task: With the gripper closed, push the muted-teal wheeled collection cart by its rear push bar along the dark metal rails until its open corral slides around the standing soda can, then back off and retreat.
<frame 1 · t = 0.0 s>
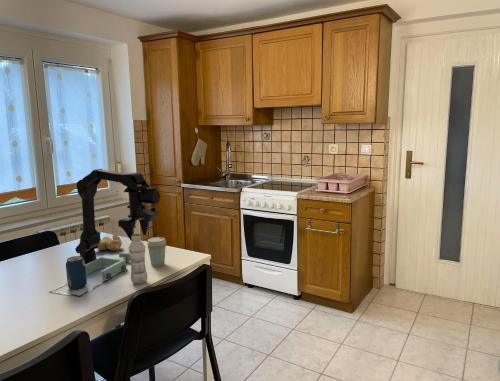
hand: (138, 237, 170), 15 cm above the table, fingers open, 9 cm apart
soda can: (77, 287, 155), on the table
plastic bottle: (139, 283, 159), on the table
cart: (109, 264, 173), point 3 cm above the table, slide at 0.0 cm
ginger root: (110, 249, 201), on the table
rails: (91, 280, 162), on the table
coffee cup: (158, 265, 178), on the table
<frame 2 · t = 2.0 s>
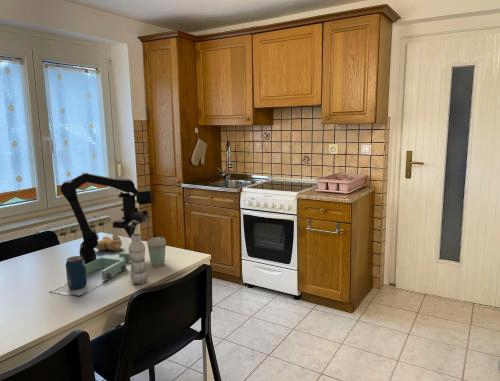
hand: (131, 238, 187), 10 cm above the table, fingers closed
nothing on the table moved.
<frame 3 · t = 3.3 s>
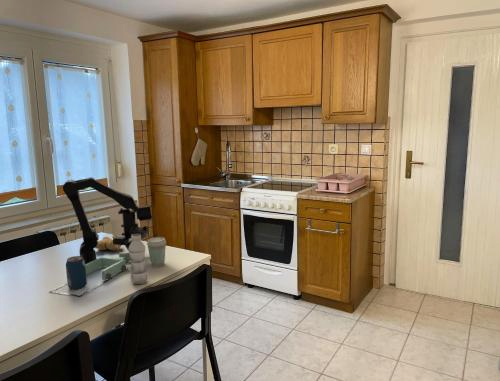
hand: (131, 253, 187), 2 cm above the table, fingers closed
nothing on the table moved.
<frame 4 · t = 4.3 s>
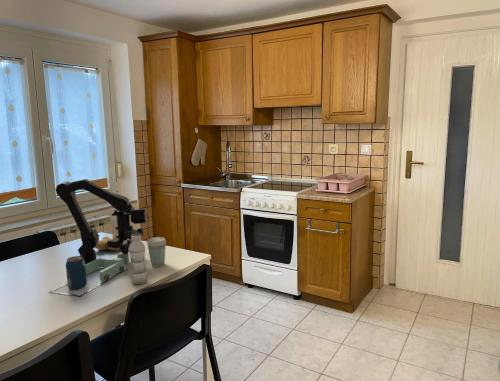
hand: (125, 256, 184), 2 cm above the table, fingers closed
cart: (107, 265, 172), point 3 cm above the table, slide at 1.2 cm, touching gripper
everything else where it was.
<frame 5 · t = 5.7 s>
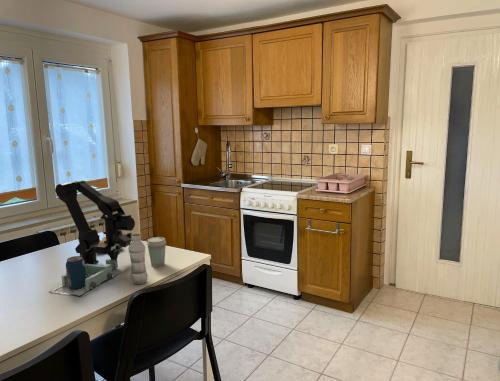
hand: (114, 262, 176), 2 cm above the table, fingers closed
cart: (95, 272, 164), point 3 cm above the table, slide at 9.3 cm, touching gripper
everything else where it was.
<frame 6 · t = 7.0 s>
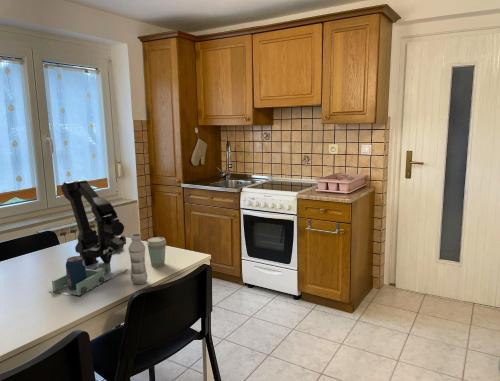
hand: (107, 266, 172), 2 cm above the table, fingers closed
cart: (86, 276, 160), point 3 cm above the table, slide at 14.0 cm, touching gripper
everything else where it was.
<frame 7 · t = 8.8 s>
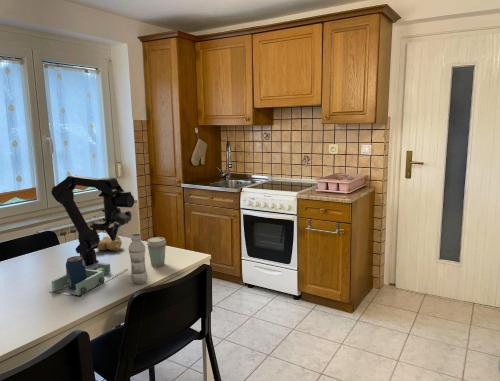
hand: (113, 240, 176), 12 cm above the table, fingers closed
cart: (86, 276, 160), point 3 cm above the table, slide at 14.2 cm
everything else where it was.
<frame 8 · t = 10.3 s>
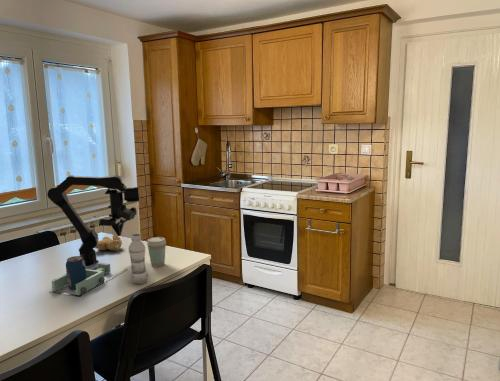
hand: (119, 235, 183), 12 cm above the table, fingers closed
nothing on the table moved.
at the end: cart slide at 14.2 cm; soda can inside the target area on the cart (0.9 cm from its centre), point 0.0 cm above the cart's base; soda can tilted 0° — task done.
